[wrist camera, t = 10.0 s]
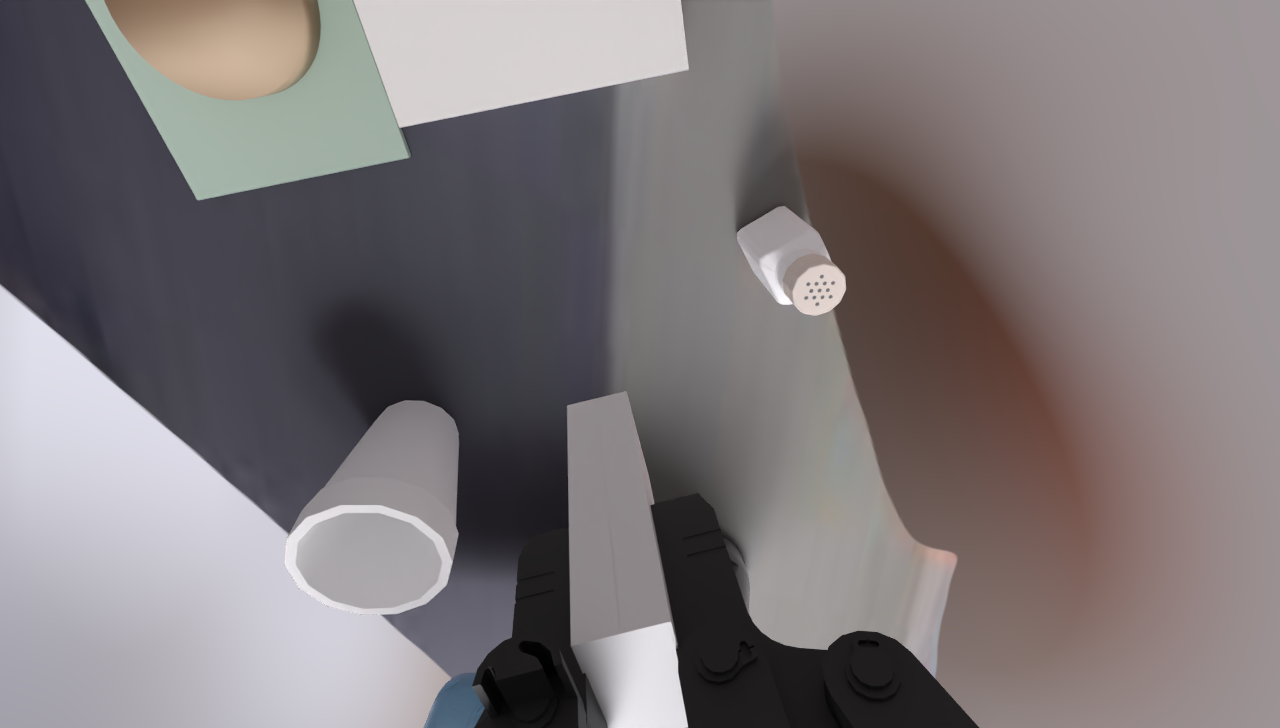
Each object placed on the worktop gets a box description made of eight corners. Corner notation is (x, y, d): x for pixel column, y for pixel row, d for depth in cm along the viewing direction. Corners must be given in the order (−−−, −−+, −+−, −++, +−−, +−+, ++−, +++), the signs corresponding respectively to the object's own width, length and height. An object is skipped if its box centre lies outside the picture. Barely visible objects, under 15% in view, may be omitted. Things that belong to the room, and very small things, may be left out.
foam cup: (490, 469, 48) (468, 601, 37) (379, 487, 48) (323, 626, 37) (459, 373, 44) (423, 491, 32) (335, 392, 43) (255, 519, 32)
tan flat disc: (348, 80, 33) (334, 83, 31) (188, 109, 33) (164, 114, 30) (272, -122, 28) (250, -134, 26) (86, -90, 28) (49, -100, 26)
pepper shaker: (754, 275, 42) (800, 334, 34) (731, 230, 40) (774, 280, 32) (804, 247, 42) (862, 300, 34) (783, 200, 40) (840, 243, 32)
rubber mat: (411, 156, 36) (409, 157, 35) (202, 198, 36) (197, 200, 35) (267, -247, 27) (261, -253, 26) (-15, -193, 26) (-26, -198, 26)
